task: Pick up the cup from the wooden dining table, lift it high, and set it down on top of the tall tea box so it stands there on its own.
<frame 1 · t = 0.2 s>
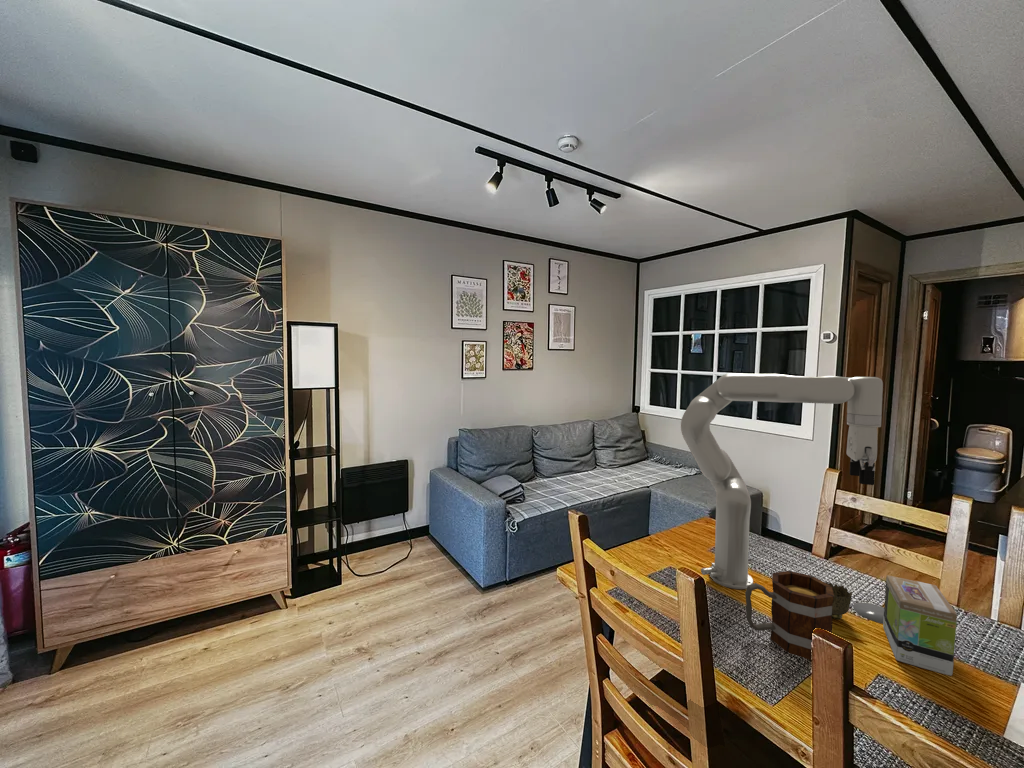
hand: (861, 479, 121), 36 cm above the table, tool pointing down, fingers open, 9 cm apart
cup: (833, 617, 117), on the table
tea box: (915, 651, 103), on the table
mug: (786, 641, 107), on the table
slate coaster: (875, 614, 118), on the table
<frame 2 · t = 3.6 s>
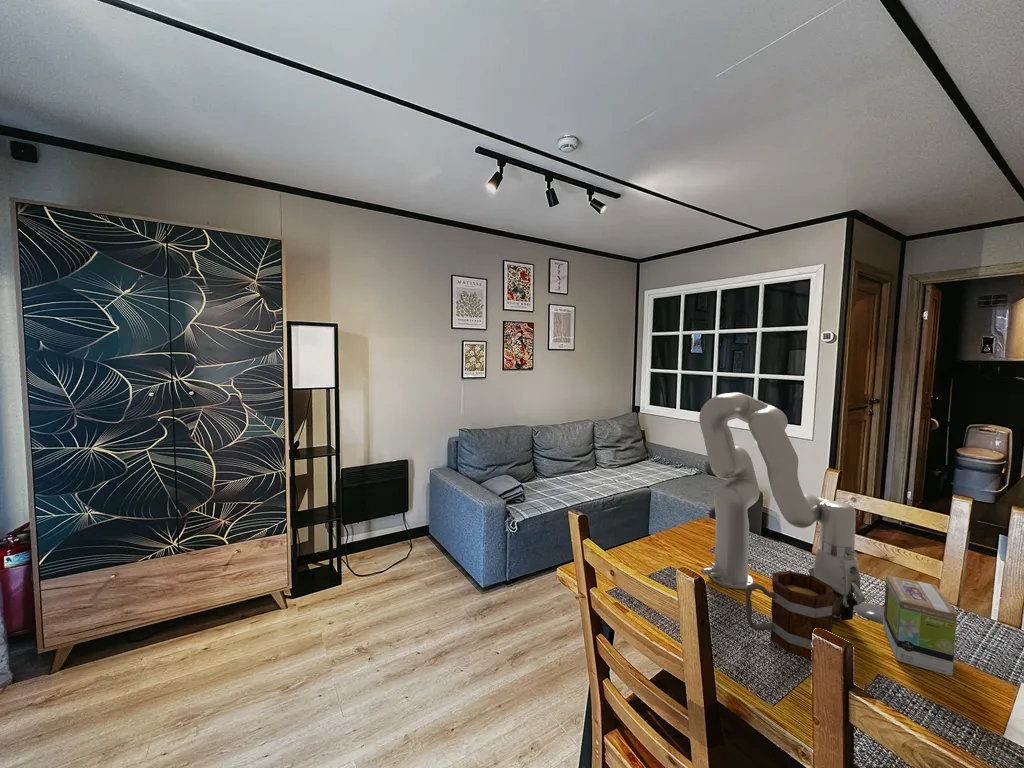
hand: (833, 610, 117), 2 cm above the table, tool pointing down, fingers closed on cup, 6 cm apart
cup: (833, 617, 117), on the table, touching gripper
everything else where it was.
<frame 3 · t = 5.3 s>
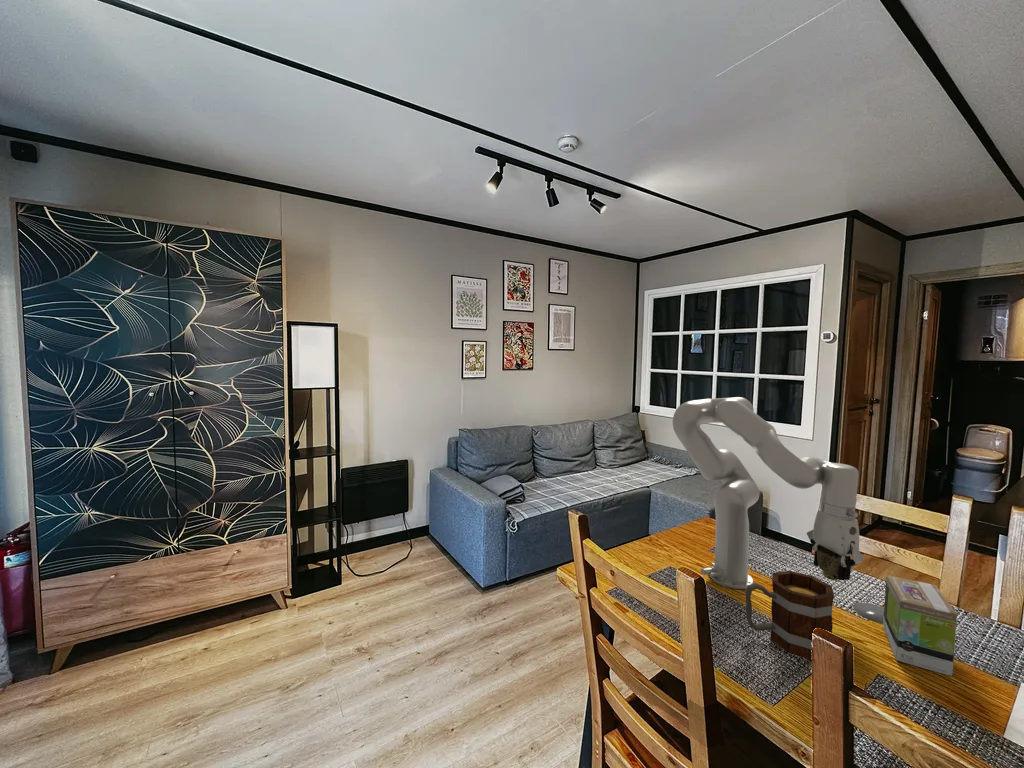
hand: (831, 571, 117), 12 cm above the table, tool pointing down, fingers closed on cup, 6 cm apart
cup: (830, 578, 117), point 10 cm above the table, touching gripper
everything else where it was.
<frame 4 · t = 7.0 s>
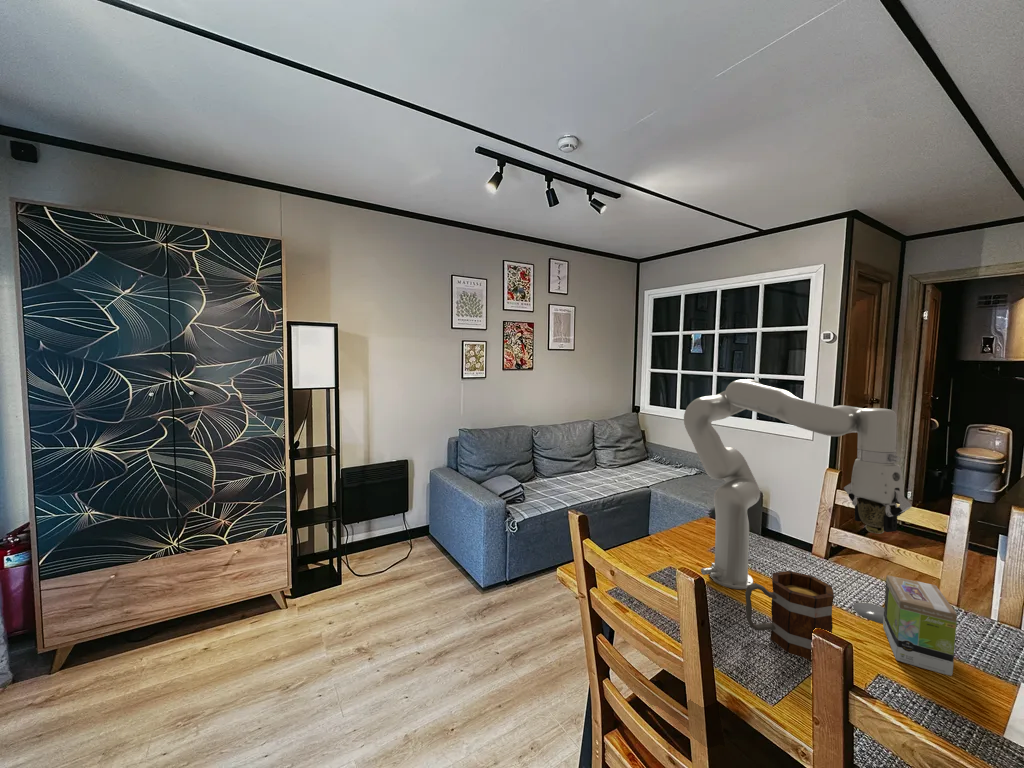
hand: (874, 525, 109), 28 cm above the table, tool pointing down, fingers closed on cup, 6 cm apart
cup: (874, 532, 109), point 26 cm above the table, touching gripper
everything else where it was.
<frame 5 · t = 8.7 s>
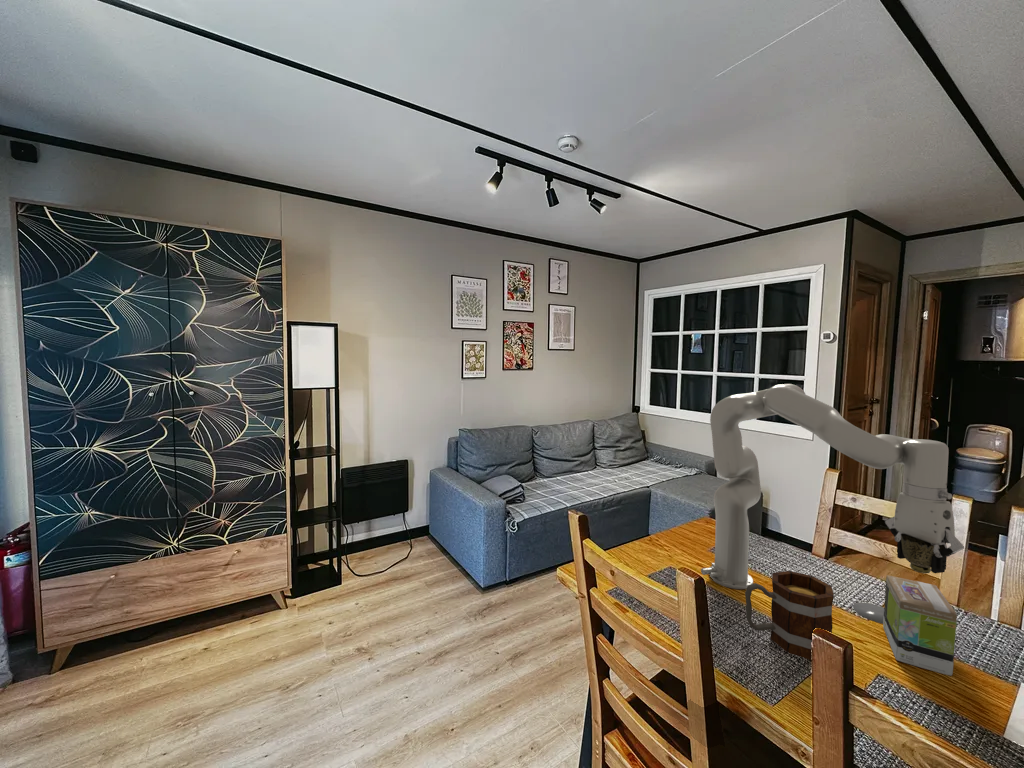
hand: (920, 564, 102), 21 cm above the table, tool pointing down, fingers closed on cup, 6 cm apart
cup: (920, 571, 102), point 20 cm above the table, touching gripper
everything else where it was.
when the fingers open (18 cm above the table, at t = 10.3 s): cup drops 2 cm, resting on tea box.
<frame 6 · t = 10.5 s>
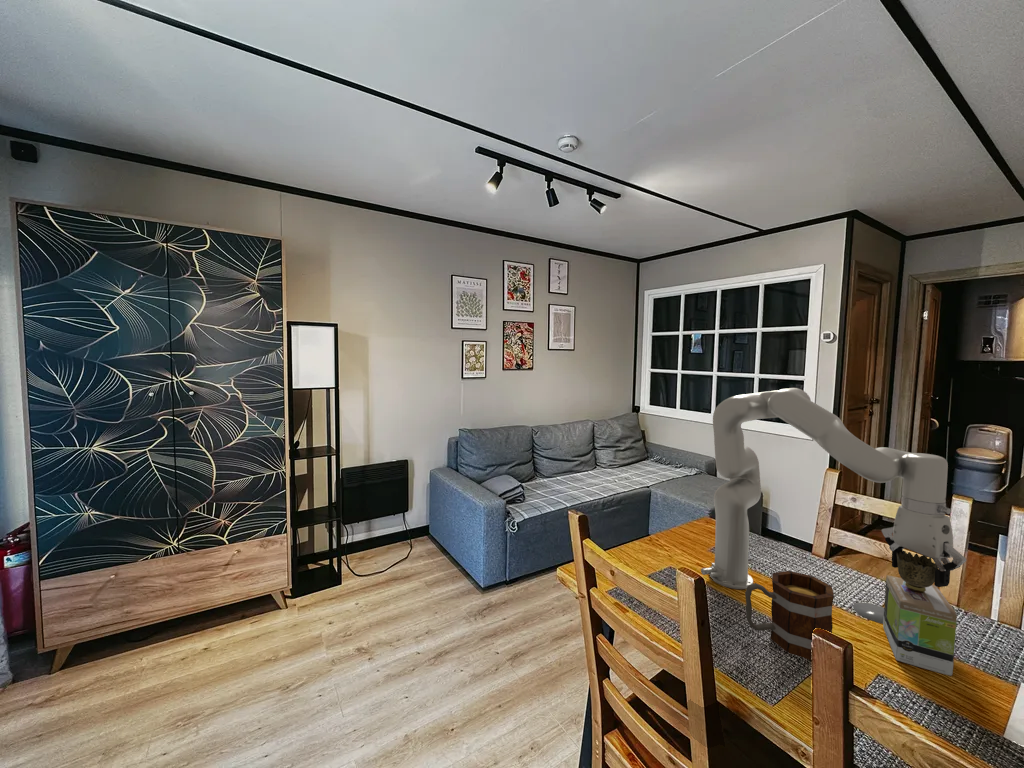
hand: (918, 575, 102), 19 cm above the table, tool pointing down, fingers open, 8 cm apart
cup: (915, 590, 103), point 15 cm above the table, touching gripper, tea box
tea box: (915, 651, 103), on the table, touching cup
everything else where it was.
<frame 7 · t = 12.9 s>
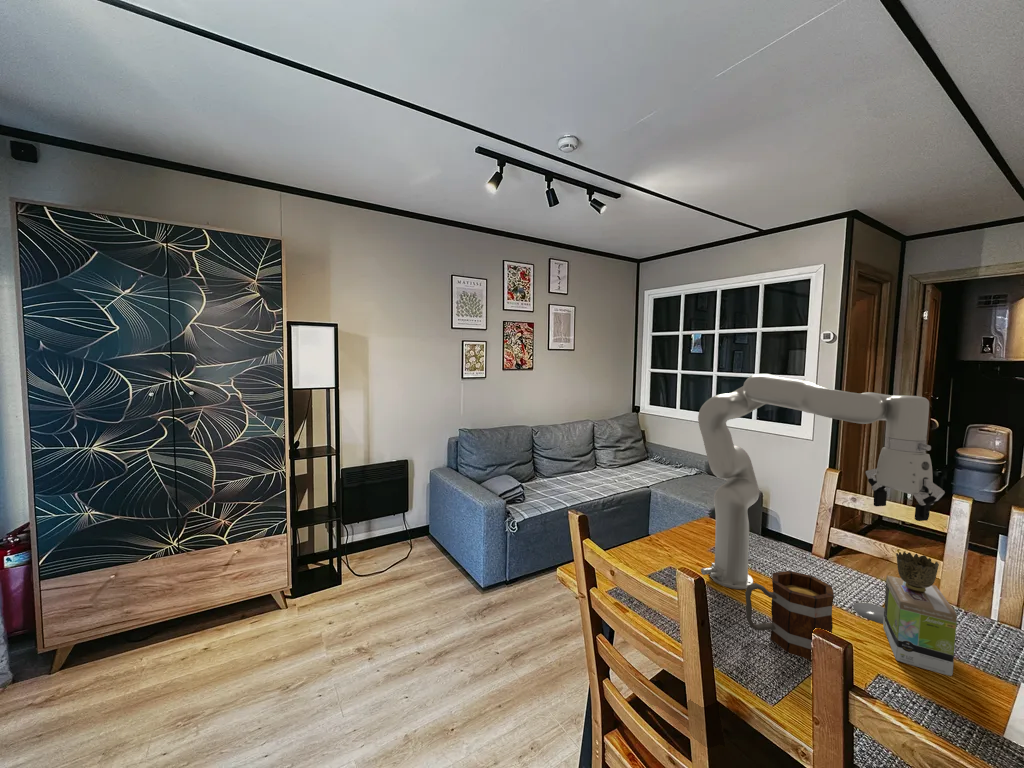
hand: (899, 512, 106), 32 cm above the table, tool pointing down, fingers open, 9 cm apart
cup: (915, 591, 103), point 14 cm above the table, touching tea box
everything else where it was.
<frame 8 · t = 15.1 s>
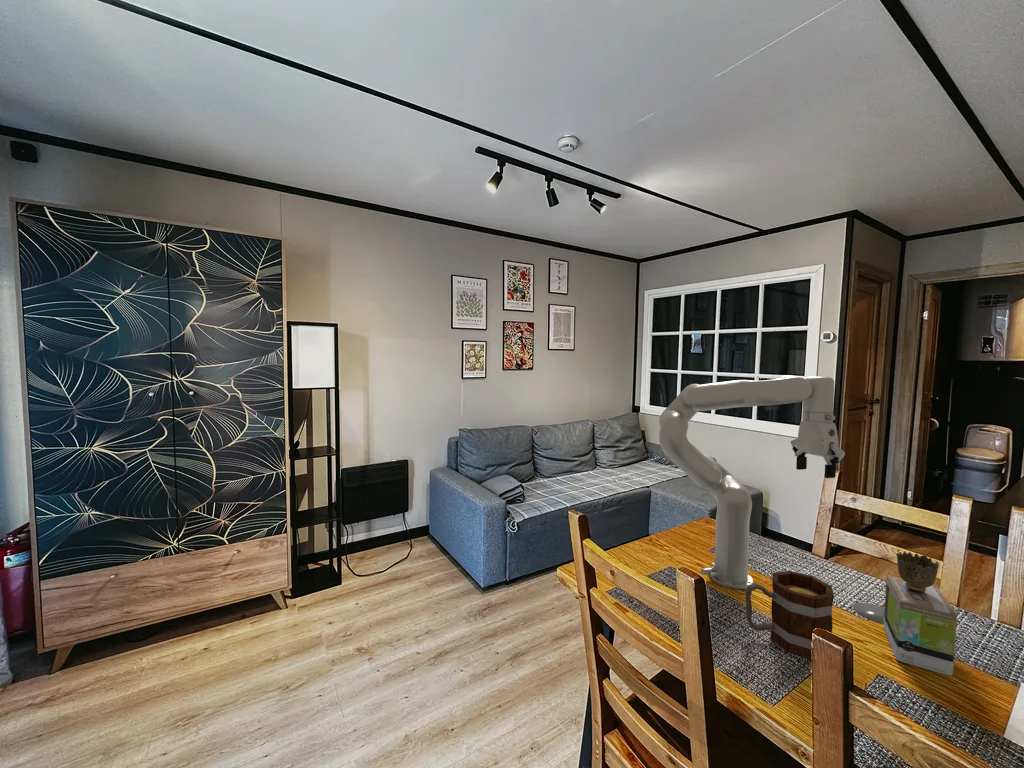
hand: (815, 473, 129), 36 cm above the table, tool pointing down, fingers open, 9 cm apart
nothing on the table moved.
at the end: cup inside the target area on the tea box (0.7 cm from its centre), point 14.8 cm above the tea box's base; cup tilted 0°; the gripper is holding nothing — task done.
